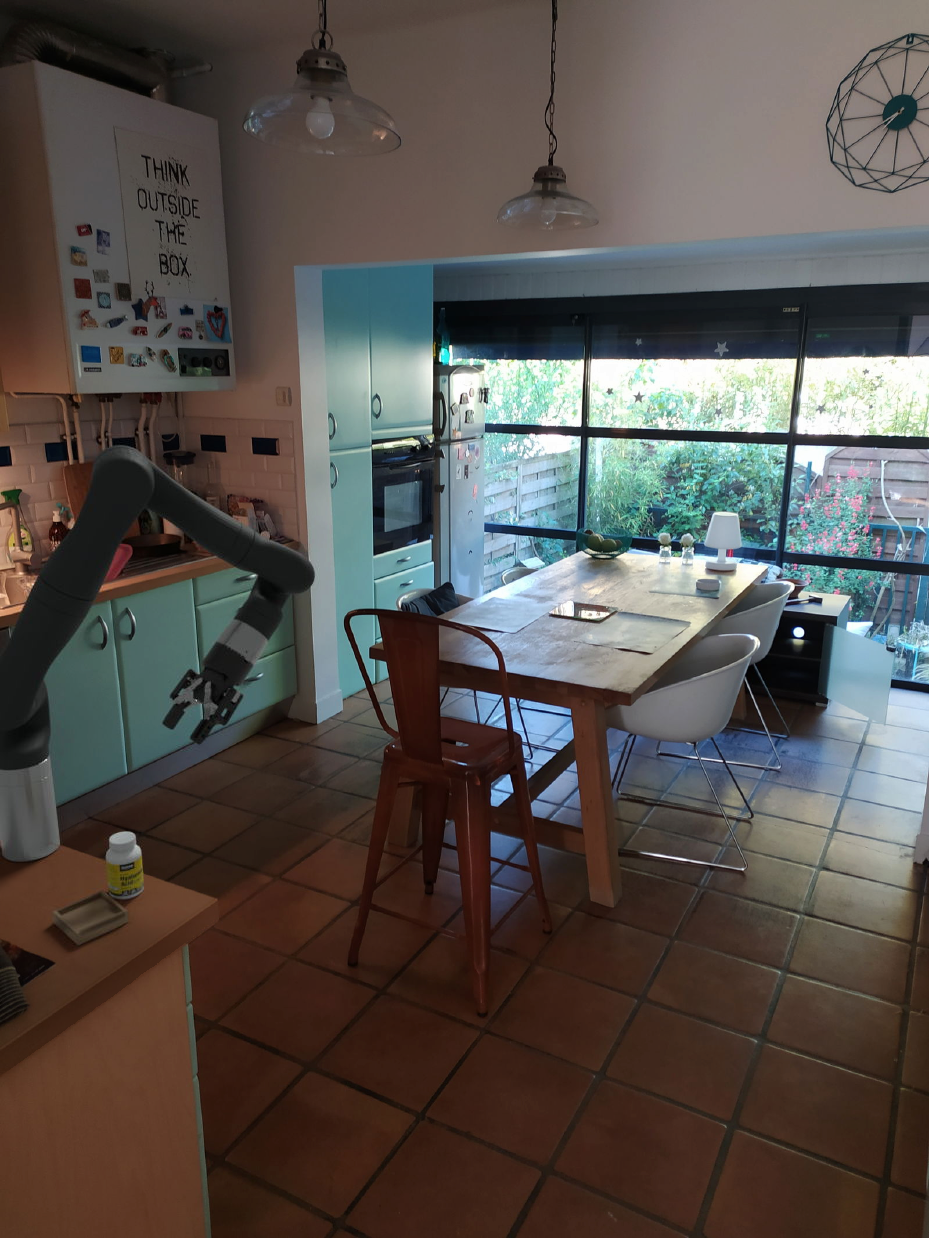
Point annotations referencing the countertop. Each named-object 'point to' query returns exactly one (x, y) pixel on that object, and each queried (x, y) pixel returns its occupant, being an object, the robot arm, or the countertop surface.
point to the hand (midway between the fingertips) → (180, 734)
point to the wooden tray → (90, 917)
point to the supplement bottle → (124, 866)
